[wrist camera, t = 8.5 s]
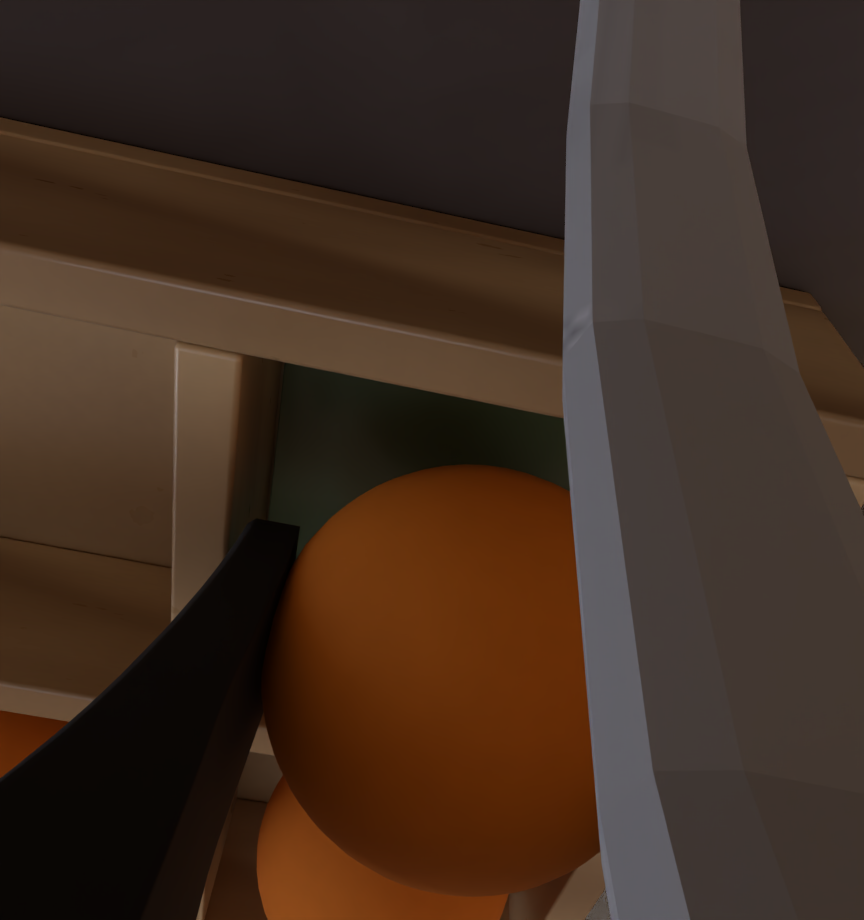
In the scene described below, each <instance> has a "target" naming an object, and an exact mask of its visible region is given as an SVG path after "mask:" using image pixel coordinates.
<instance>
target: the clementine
mask: <svg viewBox="0 0 864 920" xmlns="http://www.w3.org/2000/svg"><path fill="white" fill-rule="evenodd" d="M261 696H262V704H263V711H264V718H265V723H266V728H267V733H268V736H269V739H270V743H271V746H272V749H273V752H274V755H275V758H276V760H277V763H278V765H279V768H280V770H281V772H282V774H283V776H284V778H285V780H286V782H287V784H288V786H289V788H290V790H291V791H292V793H293V795H294V796H295V798H296V799H297V801H298V803H299V804H300V805H301V807H302V808H303V809H304V811H305V812H306V813H307V815H308V816H309V817H310V819H311V820H312V821H313V822H314V823H315V825H316V826H317V827H318V828H319V829H320V830H321V831H322V832H323V833H324V834H325V835H326V836H327V837H328V838H329V839H330V840H331V841H332V842H334V843H335V844H336V845H337V846H338V847H339V848H340V849H341V850H343V851H344V852H345V853H346V854H347V855H348V856H350V857H351V858H353V859H354V860H356V861H357V862H359V863H360V864H362V865H364V866H366V867H367V868H369V869H371V870H373V871H374V872H376V873H378V874H380V875H382V876H383V877H385V878H387V879H390V880H392V881H394V882H397V883H399V884H402V885H405V886H408V887H411V888H415V889H418V890H422V891H426V892H432V893H437V894H443V895H450V896H462V897H481V896H495V895H503V894H510V893H515V892H520V891H525V890H528V889H531V888H534V887H538V886H540V885H543V884H545V883H548V882H550V881H552V880H554V879H557V878H559V877H561V876H563V875H565V874H567V873H569V872H571V871H573V870H575V869H577V868H578V867H580V866H581V865H583V864H584V863H586V862H587V861H589V860H590V859H591V858H592V857H594V856H595V855H596V854H598V853H599V852H600V840H599V829H598V817H597V805H596V793H595V781H594V769H593V757H592V746H591V734H590V722H589V710H588V698H587V686H586V675H585V663H584V651H583V639H582V627H581V615H580V604H579V592H578V580H577V568H576V556H575V544H574V533H573V521H572V509H571V497H570V491H568V490H566V489H564V488H562V487H560V486H558V485H556V484H554V483H552V482H549V481H546V480H544V479H541V478H538V477H536V476H533V475H530V474H528V473H524V472H520V471H516V470H512V469H508V468H503V467H496V466H489V465H470V464H462V465H447V466H440V467H434V468H428V469H423V470H420V471H416V472H413V473H410V474H406V475H403V476H400V477H397V478H394V479H392V480H389V481H387V482H385V483H382V484H380V485H378V486H376V487H374V488H372V489H371V490H369V491H367V492H365V493H364V494H362V495H360V496H359V497H357V498H356V499H354V500H353V501H351V502H350V503H349V504H347V505H346V506H345V507H343V508H342V509H341V510H340V511H338V512H337V513H336V514H335V515H333V516H332V517H331V518H330V519H329V520H328V521H327V522H326V523H325V524H324V525H323V526H322V527H321V528H320V530H319V531H318V532H317V533H316V534H315V535H314V536H313V537H312V538H311V539H310V540H309V542H308V543H307V544H306V545H305V547H304V548H303V550H302V551H301V552H300V554H299V555H298V557H297V558H296V560H295V562H294V563H293V565H292V567H291V568H290V570H289V572H288V575H287V578H286V581H285V585H284V587H283V590H282V593H281V596H280V599H279V602H278V605H277V608H276V611H275V614H274V618H273V621H272V626H271V630H270V634H269V638H268V642H267V646H266V650H265V655H264V661H263V667H262V672H261Z"/></svg>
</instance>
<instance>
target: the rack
mask: <svg viewBox="0 0 864 920" xmlns="http://www.w3.org/2000/svg"><path fill="white" fill-rule="evenodd" d="M564 252H565V240H562V239H557V238H553V237H548V236H544V235H539V234H534V233H530V232H525V231H521V230H516V229H511V228H507V227H502V226H498V225H493V224H488V223H484V222H479V221H475V220H470V219H465V218H461V217H456V216H452V215H447V214H442V213H438V212H433V211H429V210H424V209H419V208H415V207H410V206H406V205H401V204H396V203H392V202H387V201H383V200H378V199H373V198H369V197H364V196H359V195H355V194H350V193H346V192H341V191H336V190H332V189H327V188H323V187H318V186H313V185H309V184H304V183H300V182H295V181H290V180H286V179H281V178H277V177H272V176H267V175H263V174H258V173H254V172H249V171H244V170H240V169H235V168H231V167H226V166H221V165H217V164H212V163H208V162H203V161H198V160H194V159H189V158H185V157H180V156H175V155H171V154H166V153H162V152H157V151H152V150H148V149H143V148H139V147H134V146H129V145H125V144H120V143H116V142H111V141H106V140H102V139H97V138H93V137H88V136H83V135H79V134H74V133H69V132H65V131H60V130H56V129H51V128H46V127H42V126H37V125H33V124H28V123H23V122H19V121H14V120H10V119H5V118H0V710H2V711H8V712H14V713H20V714H26V715H32V716H38V717H44V718H50V719H56V720H62V721H68V722H69V721H71V720H72V719H73V718H74V717H75V716H76V715H77V714H79V713H80V712H81V711H82V710H83V709H84V708H85V707H87V706H88V705H89V704H90V703H91V702H92V701H93V700H94V699H95V698H96V697H97V696H99V695H100V694H101V693H102V692H103V691H104V690H105V689H106V688H107V687H108V686H109V685H110V684H111V683H112V682H113V681H114V680H116V679H117V678H118V677H119V676H120V675H121V674H122V673H123V672H124V671H125V670H126V669H127V668H128V667H129V666H130V665H131V664H132V663H133V661H134V660H135V659H136V658H137V657H138V656H139V655H140V654H141V653H142V652H143V651H144V650H145V649H146V648H147V647H148V646H149V645H150V644H151V643H152V642H153V641H154V640H155V639H156V638H157V637H158V636H159V635H160V634H161V633H162V632H163V631H164V629H165V628H166V627H167V626H168V625H169V624H170V623H171V622H172V621H173V619H174V618H175V617H176V616H177V615H178V614H179V613H180V611H181V610H182V609H183V608H184V607H185V606H186V604H187V603H188V602H189V601H190V600H191V599H192V598H193V596H194V595H195V594H196V593H197V592H198V591H199V589H200V588H201V587H202V586H203V585H204V583H205V582H206V581H207V580H208V578H209V577H210V576H211V575H212V573H213V572H214V571H215V569H216V568H217V567H218V566H219V564H220V563H221V562H222V560H223V559H224V558H225V556H226V555H227V554H228V552H229V551H230V549H231V548H232V547H233V545H234V544H235V542H236V541H237V539H238V538H239V536H240V535H241V533H242V532H243V530H244V528H245V527H246V525H247V523H249V522H251V521H252V520H254V519H256V518H258V519H263V520H268V521H274V522H279V523H284V524H290V525H295V526H300V531H299V538H298V545H297V553H296V558H297V557H298V555H299V554H300V552H301V551H302V550H303V548H304V547H305V545H306V544H307V543H308V542H309V540H310V539H311V538H312V537H313V536H314V535H315V534H316V533H317V532H318V531H319V530H320V528H321V527H322V526H323V525H324V524H325V523H326V522H327V521H328V520H329V519H330V518H331V517H332V516H333V515H335V514H336V513H337V512H338V511H340V510H341V509H342V508H343V507H345V506H346V505H347V504H349V503H350V502H351V501H353V500H354V499H356V498H357V497H359V496H360V495H362V494H364V493H365V492H367V491H369V490H371V489H372V488H374V487H376V486H378V485H380V484H382V483H385V482H387V481H389V480H392V479H394V478H397V477H400V476H403V475H406V474H410V473H413V472H416V471H420V470H423V469H428V468H434V467H440V466H447V465H462V464H470V465H489V466H496V467H503V468H508V469H512V470H516V471H520V472H524V473H528V474H530V475H533V476H536V477H538V478H541V479H544V480H546V481H549V482H552V483H554V484H556V485H558V486H560V487H562V488H564V489H566V490H568V491H570V485H569V473H568V462H567V450H566V438H565V426H564V414H563V402H562V388H563V307H564ZM780 292H781V296H782V300H783V304H784V309H785V313H786V317H787V321H788V326H789V330H790V334H791V338H792V343H793V347H794V351H795V356H796V360H797V364H798V368H799V373H800V375H801V377H802V380H803V382H804V384H805V386H806V388H807V391H808V393H809V395H810V397H811V400H812V402H813V404H814V406H815V408H816V411H817V413H818V415H819V417H820V419H821V422H822V424H823V426H824V428H825V431H826V433H827V435H828V437H829V439H830V442H831V444H832V446H833V448H834V451H835V453H836V455H837V457H838V459H839V462H840V464H841V466H842V468H843V470H844V473H845V475H846V477H847V479H848V482H849V484H850V486H851V488H852V490H853V493H854V495H855V497H856V499H857V501H858V504H859V506H860V508H861V507H862V505H863V504H864V368H863V366H862V365H861V364H860V362H859V361H858V359H857V358H856V357H855V355H854V354H853V352H852V351H851V350H850V348H849V347H848V346H847V344H846V343H845V341H844V340H843V339H842V337H841V336H840V335H839V333H838V332H837V330H836V329H835V328H834V326H833V325H832V323H831V322H830V321H829V319H828V318H827V317H826V315H825V314H824V313H823V312H821V307H820V306H819V304H818V303H817V302H816V300H815V299H814V297H813V296H812V295H811V294H810V293H806V292H801V291H797V290H792V289H788V288H783V287H780ZM282 776H283V774H282V772H281V770H280V768H279V765H278V763H277V760H276V758H275V755H274V752H273V749H272V746H271V743H270V739H269V736H268V733H267V728H266V723H265V718H264V712H263V715H262V718H261V721H260V723H259V726H258V729H257V732H256V735H255V738H254V741H253V743H252V746H251V749H250V752H249V755H248V758H247V760H246V763H245V766H244V769H243V772H242V775H241V778H240V780H239V783H238V786H237V789H236V792H235V795H234V797H233V800H232V803H231V806H230V809H229V812H228V814H227V817H226V820H225V823H224V826H223V829H222V831H221V834H220V837H219V840H218V843H217V846H216V850H215V853H214V856H213V859H212V863H211V866H210V869H209V872H208V876H207V880H206V884H205V888H204V891H203V895H202V899H201V903H200V907H199V911H198V915H197V919H196V920H268V919H267V917H266V914H265V912H264V908H263V904H262V900H261V896H260V892H259V888H258V879H257V844H258V838H259V832H260V827H261V823H262V820H263V816H264V813H265V810H266V807H267V804H268V802H269V800H270V798H271V795H272V793H273V791H274V789H275V787H276V786H277V784H278V782H279V780H280V779H281V777H282ZM605 888H606V887H605V881H604V875H603V869H602V863H601V852H599V853H598V854H596V855H595V856H594V857H592V858H591V859H590V860H589V861H587V862H586V863H584V864H583V865H581V866H580V867H578V868H577V869H575V870H573V871H571V872H569V873H567V874H565V875H563V876H561V877H559V878H557V879H554V880H552V881H550V882H548V883H545V884H543V885H540V886H538V887H534V888H531V889H528V890H525V891H520V892H515V893H510V894H509V895H508V898H507V901H506V904H505V907H504V910H503V913H502V915H501V918H500V920H585V918H586V917H587V915H588V914H589V912H590V911H591V909H592V908H593V906H594V905H595V903H596V902H597V900H598V899H599V897H600V896H601V894H602V893H603V891H604V890H605Z"/></svg>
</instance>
